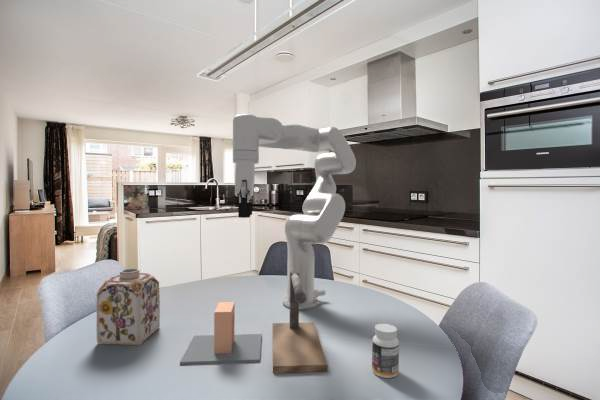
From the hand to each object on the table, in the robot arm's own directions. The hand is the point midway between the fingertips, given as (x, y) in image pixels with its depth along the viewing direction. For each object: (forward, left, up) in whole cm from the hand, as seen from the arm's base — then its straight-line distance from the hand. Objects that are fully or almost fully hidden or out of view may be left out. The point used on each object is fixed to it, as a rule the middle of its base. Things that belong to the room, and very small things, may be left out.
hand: (245, 216), depth 99 cm
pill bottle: (-17, +40, -33) cm, 54 cm away
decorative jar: (+30, -8, -33) cm, 45 cm away
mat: (+10, +12, -32) cm, 36 cm away
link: (+10, +12, -32) cm, 35 cm away
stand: (-6, +20, -32) cm, 38 cm away
